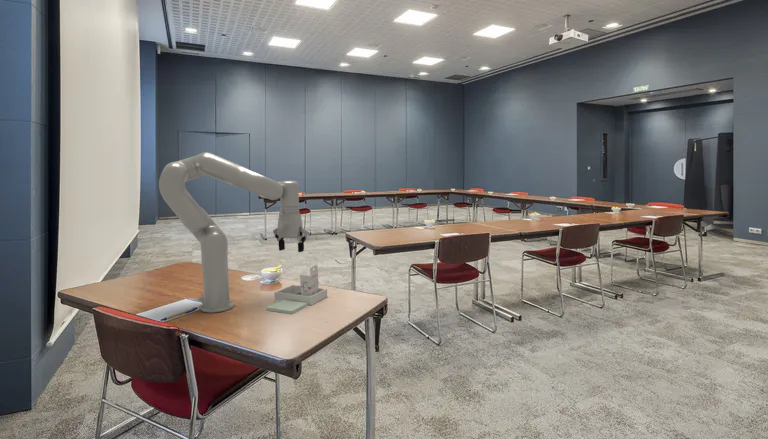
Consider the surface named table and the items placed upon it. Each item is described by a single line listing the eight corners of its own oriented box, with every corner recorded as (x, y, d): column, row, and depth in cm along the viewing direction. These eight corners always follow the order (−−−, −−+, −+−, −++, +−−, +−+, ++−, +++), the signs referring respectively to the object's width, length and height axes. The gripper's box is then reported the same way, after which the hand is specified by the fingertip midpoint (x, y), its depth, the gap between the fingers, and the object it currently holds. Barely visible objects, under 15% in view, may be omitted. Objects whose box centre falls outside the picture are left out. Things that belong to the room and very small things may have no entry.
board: (266, 310, 168) (266, 307, 168) (282, 302, 178) (282, 299, 178) (291, 314, 163) (291, 311, 163) (307, 306, 173) (307, 303, 173)
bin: (274, 300, 181) (274, 292, 180) (292, 292, 192) (292, 284, 192) (310, 305, 174) (310, 297, 173) (327, 296, 185) (327, 288, 185)
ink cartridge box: (308, 296, 186) (307, 263, 184) (319, 297, 185) (318, 263, 183) (300, 302, 178) (299, 267, 176) (311, 303, 177) (310, 268, 175)
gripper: (267, 210, 180) (269, 251, 182) (302, 212, 173) (303, 253, 175) (278, 209, 187) (280, 247, 189) (312, 210, 180) (313, 250, 182)
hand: (291, 250), depth 182 cm, fingers open, 9 cm apart
